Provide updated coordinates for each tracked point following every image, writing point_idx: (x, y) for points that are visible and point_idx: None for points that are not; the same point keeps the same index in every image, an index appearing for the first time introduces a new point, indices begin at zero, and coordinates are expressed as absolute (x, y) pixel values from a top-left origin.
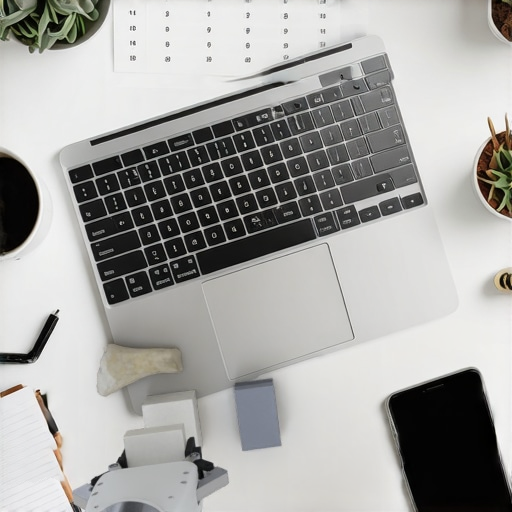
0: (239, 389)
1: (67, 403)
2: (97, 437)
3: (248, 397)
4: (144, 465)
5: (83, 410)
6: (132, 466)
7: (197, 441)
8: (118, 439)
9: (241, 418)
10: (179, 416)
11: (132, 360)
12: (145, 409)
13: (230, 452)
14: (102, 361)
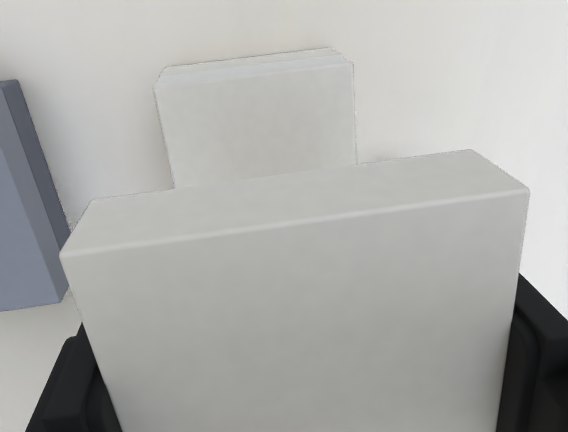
0: (44, 303)
1: (558, 197)
2: (505, 97)
3: (6, 284)
4: (399, 423)
5: (522, 178)
6: (471, 413)
7: (168, 149)
8: (443, 90)
9: (15, 220)
10: None
11: None
12: None
13: (58, 35)
14: None
